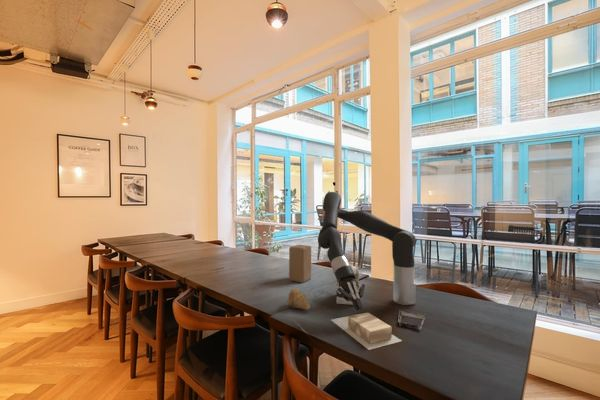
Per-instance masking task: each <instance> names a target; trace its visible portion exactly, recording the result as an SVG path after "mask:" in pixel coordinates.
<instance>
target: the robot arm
mask: <svg viewBox="0 0 600 400" xmlns="http://www.w3.org/2000/svg"><path fill="white" fill-rule="evenodd" d="M341 202H342V196H341V195H340V194H339V193H338V192H336V191H335V192H334V191H329V192H327V193H326V194H325V196H324V198H323V203H322V210H323V211H324V214H323V220H322V227H321V229H320V231H319V232H318V237H317V243H318V246H320V248H321V249H323V250H324V249H325V250H327V249H328V250H327V251H326V253H327V257H328V260H329V263H330V265H331V268H332V271H333V274H334V277H335V279H336V282H337V281H338V283H339V288H338V289H337V288H336V291H335V292H336V295H337V294H339V295H340V296H341V297H343V298H344V299H345V300H346V301H351V302H352V303H353V307H354V309H355V311H357V312H358V311H359V312H360V311H362V310H363V308H364V305H363V303H362V301H361V299H362V298H363V297H364V292H365V289H366V288H365V287H366V285H365V284H364V283H362V284H361V283H360V282H359V283H358V281H357V280H356V278H355V274H354V272H353V270H352V268H351V266H352V265H351V263H350V262H349V260H348V258H347V256H346V254H345V252H344V249H343V244H342V237H341V234H340V232H339V231H338V219H341V220H343V221H345V222H347V223H349V224H351V225H353V226H355V227H357V228H358V229H361V230H362V231H364V232H366V233H370V234H372V235H375V236H379V237H383V238H384V239H388V240H389V241H390V242H391V244H392V245H391V247H392V252H391V253H392V254H391V255H392V260H393V278H392V279H393V281H392V282H393V285H392V287H393V288H392V289H393V290H392V291H393V292H392V293H393V294H392V300H393V301H392V302H394V303H395V304H398V305H403V306H410V305H411V306H412V305H416V289H417V288H416V286H417V285H416V283H415V260H414V247H415V246H416V244H417V238H416V236H415V234H413V232H411V231H408V230H407V229H403V228H400V227H398V226H395V225H393V224H391V223H388V222H387V221H385V220H384V219H382V218H379V217H378V216H376V215H374V214H372V213H370V212H368V211H366V210H363V209H362V210H361V209H359V210H358V209H357V210H351V211H350V210H345V209H343V208H342V207H341Z"/></svg>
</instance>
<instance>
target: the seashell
mask: <svg viewBox="0 0 600 400" xmlns="http://www.w3.org/2000/svg"><path fill="white" fill-rule="evenodd" d="M287 305H288V306H289V307H291V308H292V309H301V310H305V311H309V310H310V309H311V305H310V303H309V301H308V299H307V297H306V294H305V293H303V292H302V291H301V290H300V289H299V288H292V289H290V291H289V293H288V299H287Z"/></svg>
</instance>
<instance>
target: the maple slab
mask: <svg viewBox="0 0 600 400" xmlns="http://www.w3.org/2000/svg"><path fill="white" fill-rule="evenodd" d="M347 316H348V315H347ZM348 327H349V328H350V329H351V330H353V331H354V332H355V333H357V334H358V335H359V336H361V337H362V338H363V339H365V340H366V341H367V342H369V343H370V344H371V343H375V342H379V341H383V340H387V339H391V338H392V335H393V334H392V332H393V331H392V329H393V328H392V327H393V326H391V325H390V324H387V323H386V322H384V321H383V320H381V319H379V318H378V317H376V316H375V315H373V314H371V313H370V312H364V313H358V315H357V314H353V316H352V315H349V316H348Z"/></svg>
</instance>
